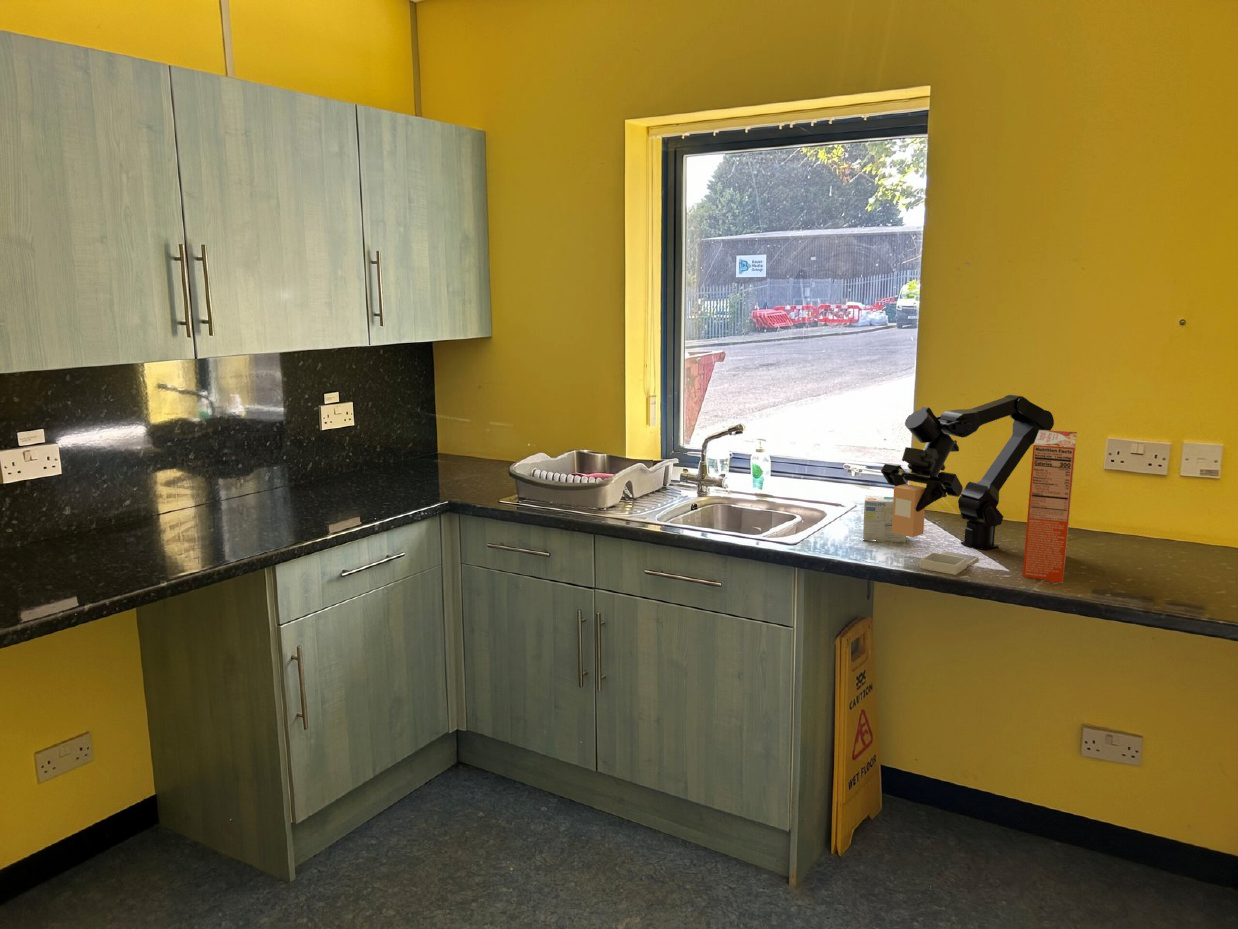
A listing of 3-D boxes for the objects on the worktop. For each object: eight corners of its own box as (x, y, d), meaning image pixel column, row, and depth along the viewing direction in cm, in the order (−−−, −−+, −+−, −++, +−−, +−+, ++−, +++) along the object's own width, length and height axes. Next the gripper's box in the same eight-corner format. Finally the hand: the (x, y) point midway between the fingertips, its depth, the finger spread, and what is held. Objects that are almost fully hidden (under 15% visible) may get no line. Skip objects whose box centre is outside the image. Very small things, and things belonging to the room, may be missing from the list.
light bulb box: (905, 537, 239) (908, 496, 237) (906, 544, 233) (908, 502, 230) (862, 534, 242) (864, 494, 240) (862, 541, 235) (864, 500, 233)
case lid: (944, 554, 223) (944, 549, 223) (978, 560, 218) (978, 556, 218) (931, 562, 217) (932, 557, 217) (966, 568, 212) (966, 563, 212)
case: (931, 562, 217) (932, 552, 217) (966, 569, 212) (967, 558, 212) (919, 569, 212) (920, 559, 211) (955, 576, 207) (956, 565, 206)
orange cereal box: (1029, 551, 226) (1039, 429, 220) (1065, 555, 222) (1076, 432, 216) (1022, 578, 206) (1033, 444, 200) (1062, 583, 202) (1074, 447, 196)
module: (902, 529, 220) (904, 483, 217) (923, 533, 216) (925, 487, 213) (891, 532, 217) (893, 486, 214) (912, 537, 213) (914, 490, 210)
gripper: (887, 429, 221) (857, 481, 216) (959, 439, 207) (929, 494, 202) (903, 457, 228) (875, 508, 223) (975, 468, 214) (947, 523, 209)
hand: (905, 508), depth 214 cm, fingers closed on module, 5 cm apart
